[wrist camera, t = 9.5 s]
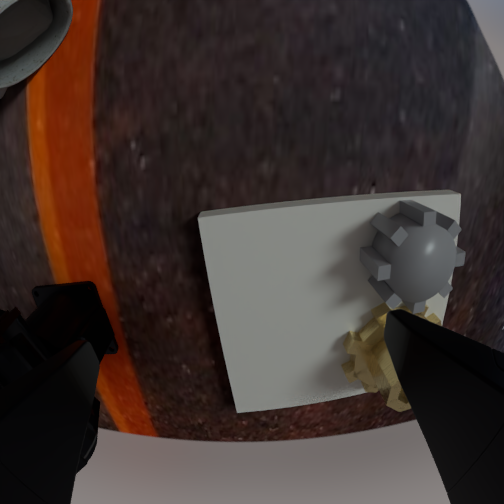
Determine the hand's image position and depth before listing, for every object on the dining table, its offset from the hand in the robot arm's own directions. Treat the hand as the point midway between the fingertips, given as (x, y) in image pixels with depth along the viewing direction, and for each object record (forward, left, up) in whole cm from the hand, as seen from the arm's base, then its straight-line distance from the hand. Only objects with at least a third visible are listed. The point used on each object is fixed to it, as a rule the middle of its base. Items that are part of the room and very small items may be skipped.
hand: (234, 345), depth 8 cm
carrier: (+7, -7, -12) cm, 16 cm away
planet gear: (+11, -11, -10) cm, 18 cm away
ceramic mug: (-14, +17, -12) cm, 25 cm away
